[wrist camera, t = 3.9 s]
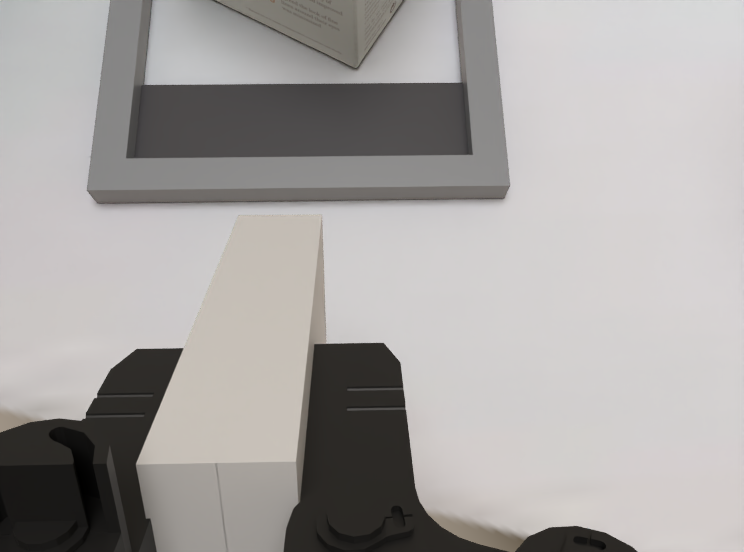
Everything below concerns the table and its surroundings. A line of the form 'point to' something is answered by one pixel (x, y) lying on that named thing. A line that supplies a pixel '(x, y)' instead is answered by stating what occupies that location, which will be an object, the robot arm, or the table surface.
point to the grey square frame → (297, 130)
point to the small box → (324, 22)
